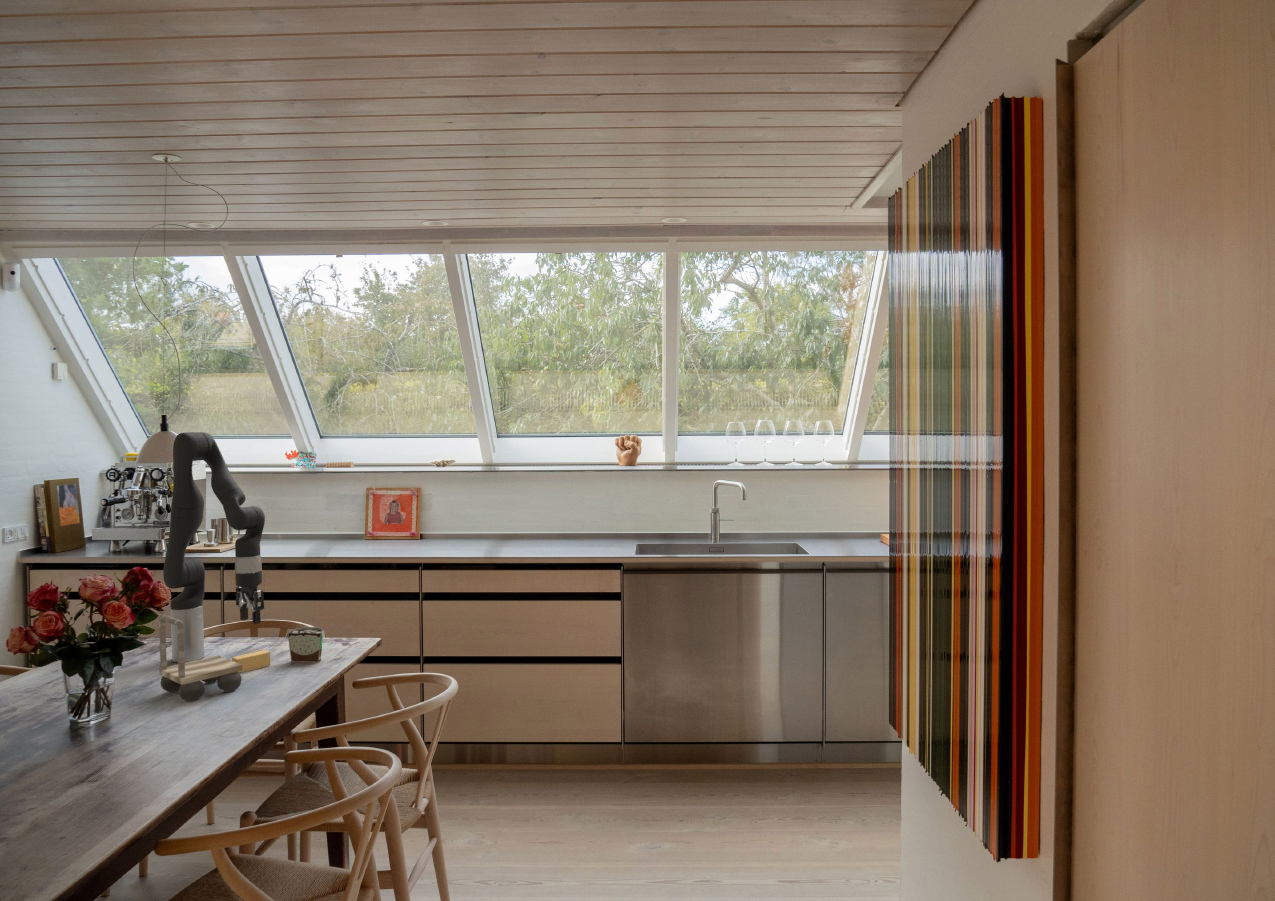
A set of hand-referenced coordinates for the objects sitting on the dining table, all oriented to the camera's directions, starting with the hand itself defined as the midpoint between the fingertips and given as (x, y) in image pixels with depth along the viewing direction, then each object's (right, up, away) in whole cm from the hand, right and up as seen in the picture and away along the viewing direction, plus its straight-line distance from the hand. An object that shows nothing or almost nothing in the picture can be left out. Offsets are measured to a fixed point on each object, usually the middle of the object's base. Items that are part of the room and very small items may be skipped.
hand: (250, 621), depth 243 cm
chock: (0, -15, 0) cm, 15 cm away
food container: (+15, -15, +9) cm, 23 cm away
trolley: (-3, -15, -21) cm, 26 cm away
